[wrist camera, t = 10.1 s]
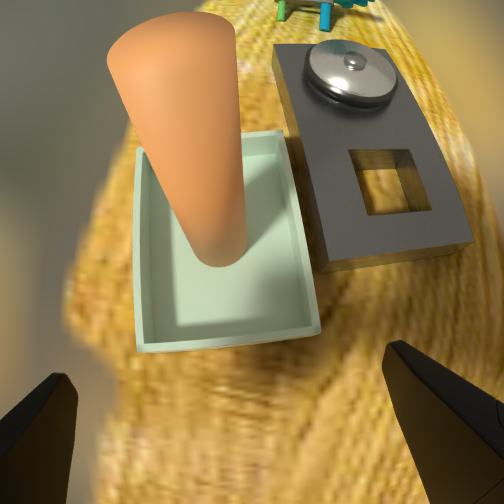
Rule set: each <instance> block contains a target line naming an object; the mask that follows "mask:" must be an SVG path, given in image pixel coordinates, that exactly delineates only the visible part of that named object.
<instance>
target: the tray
mask: <svg viewBox="0 0 504 504" xmlns="http://www.w3.org/2000/svg"><path fill="white" fill-rule="evenodd" d="M241 144H242V161H243V177H244V193H245V209H246V226H247V247H246V250H245V252H244V254H243V255H242V257H241V258H240V259H239V260H238V261H236V262H235V263H233V264H232V265H229V266H226V267H220V268H217V267H210V266H208V265H206V264H204V263H202V262H201V261H200V260H199V259H198V258H197V257H196V255H195V254H194V252H193V250H192V248H191V246H190V244H189V242H188V240H187V238H186V236H185V234H184V232H183V230H182V228H181V226H180V224H179V222H178V220H177V218H176V216H175V214H174V212H173V210H172V208H171V206H170V204H169V201H168V199H167V197H166V195H165V193H164V191H163V189H162V187H161V185H160V183H159V181H158V178H157V176H156V174H155V172H154V170H153V168H152V166H151V163H150V161H149V159H148V157H147V155H146V153H145V150H144V148H143V147H138V148H137V153H136V166H135V183H134V205H133V292H134V315H135V331H136V345H137V352H139V353H150V354H154V353H170V352H184V351H196V350H207V349H218V348H228V347H237V346H246V345H254V344H262V343H270V342H277V341H284V340H291V339H298V338H304V337H311V336H314V335H317V334H319V333H322V331H321V324H320V318H319V312H318V305H317V299H316V293H315V287H314V282H313V276H312V270H311V265H310V259H309V254H308V248H307V243H306V238H305V232H304V227H303V222H302V217H301V212H300V207H299V202H298V197H297V192H296V188H295V183H294V178H293V174H292V169H291V164H290V160H289V155H288V151H287V147H286V142H285V138H284V134H283V130H274V131H260V132H248V133H241Z"/></svg>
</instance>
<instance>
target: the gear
mask: <svg viewBox="0 0 504 504" xmlns="http://www.w3.org/2000/svg"><path fill="white" fill-rule="evenodd" d="M274 1H275V2H277V3H279V4H278V17H277V20H278V21H284V20H285V7H286V4H301V5H314V6H321V11H320V26H319V30H321V31H329V28H330V12H331V7H334V3H337V4H339V5H341V6H342V7H344V8H353V4H356V5H359V6H362V7H365V6H367V3H368V1H369V2H375V0H274Z"/></svg>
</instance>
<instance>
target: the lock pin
mask: <svg viewBox="0 0 504 504" xmlns="http://www.w3.org/2000/svg"><path fill="white" fill-rule="evenodd" d="M107 64H108V67H109V69H110V72H111V75H112V77H113V79H114V82H115V84H116V87H117V89H118V91H119V94H120V96H121V98H122V100H123V103H124V105H125V108H126V110H127V112H128V115H129V117H130V119H131V121H132V124H133V126H134V128H135V130H136V133H137V135H138V137H139V139H140V142H141V144H142V146H143V148H144V150H145V153H146V155H147V157H148V159H149V161H150V163H151V166H152V168H153V170H154V172H155V174H156V176H157V178H158V181H159V183H160V185H161V187H162V189H163V191H164V193H165V195H166V197H167V199H168V201H169V204H170V206H171V208H172V210H173V212H174V214H175V216H176V218H177V220H178V222H179V224H180V226H181V228H182V230H183V232H184V234H185V236H186V238H187V240H188V242H189V244H190V246H191V248H192V250H193V252H194V254H195V255H196V257H197V258H198V259H199V260H200V261H201V262H202V263H204V264H206V265H208V266H210V267H217V268H220V267H226V266H229V265H232V264H233V263H235V262H236V261H238V260H239V259H240V258H241V257H242V255H243V254H244V252H245V250H246V247H247V226H246V209H245V193H244V177H243V161H242V144H241V128H240V111H239V94H238V77H237V60H236V42H235V30H234V27H233V26H232V24H231V23H230V22H229V21H228V20H226V19H225V18H223V17H221V16H218V15H215V14H211V13H206V12H179V13H172V14H168V15H164V16H160V17H157V18H154V19H151V20H148V21H146V22H144V23H142V24H140V25H138V26H136V27H134V28H132V29H131V30H129V31H128V32H126V33H125V34H124V35H123V36H121V37H120V38H119V39H118V40H117V41H116V42H115V43H114V45H113V46H112V47H111V49H110V51H109V53H108V56H107Z"/></svg>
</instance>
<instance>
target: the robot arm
mask: <svg viewBox="0 0 504 504" xmlns="http://www.w3.org/2000/svg"><path fill="white" fill-rule="evenodd" d="M382 371H383V374H384V378H385V381H386V384H387V387H388V391H389V394H390V398H391V401H392V404H393V408H394V411H395V414H396V417H397V420H398V422H399V425H400V427H401V430H402V432H403V434H404V437H405V439H406V442H407V444H408V447H409V449H410V452H411V454H412V457H413V459H414V462H415V465H416V467H417V470H418V472H419V475H420V478H421V480H422V483H423V486H424V488H425V491H426V494H427V497H428V499H429V502H430V504H504V403H502V402H501V401H499V400H496V399H495V398H494V397H492V396H491V395H489V394H488V393H486V392H484V391H483V390H481V389H480V388H478V387H476V386H475V385H473V384H472V383H470V382H468V381H467V380H465V379H464V378H462V377H460V376H459V375H457V374H456V373H454V372H452V371H451V370H449V369H448V368H446V367H444V366H443V365H441V364H440V363H438V362H436V361H435V360H433V359H432V358H430V357H428V356H427V355H425V354H424V353H422V352H420V351H419V350H417V349H415V348H414V347H412V346H411V345H409V344H407V343H406V342H404V341H402V340H398V341H393V342H389V343H388V344H387V346H386V349H385V353H384V357H383V361H382ZM77 406H78V393H77V391H76V389H75V387H74V386H73V384H72V382H71V381H70V379H69V377H68V376H67V375H66V374H65V373H58V372H54V373H52V374H51V375H49V376H48V377H47V378H46V379H45V380H44V381H43V382H42V383H41V384H39V385H38V386H37V387H36V388H35V389H34V390H33V391H31V392H30V393H29V394H28V395H27V396H26V397H25V398H24V399H23V400H22V401H20V402H19V403H18V404H17V405H16V406H15V407H14V408H13V409H12V410H11V411H9V412H8V414H6V415H5V416H4V417H3V418H2V419H1V420H0V504H66V498H67V490H68V482H69V473H70V467H71V461H72V453H73V448H74V441H75V429H76V417H77Z"/></svg>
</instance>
